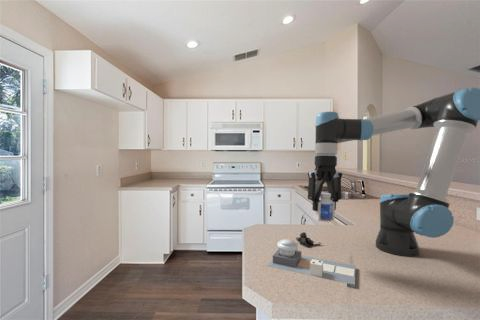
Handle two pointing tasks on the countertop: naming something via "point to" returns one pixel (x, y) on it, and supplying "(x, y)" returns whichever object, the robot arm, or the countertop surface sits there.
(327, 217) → the pill bottle
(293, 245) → the pop dome
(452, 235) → the countertop surface
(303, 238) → the stuffed animal
